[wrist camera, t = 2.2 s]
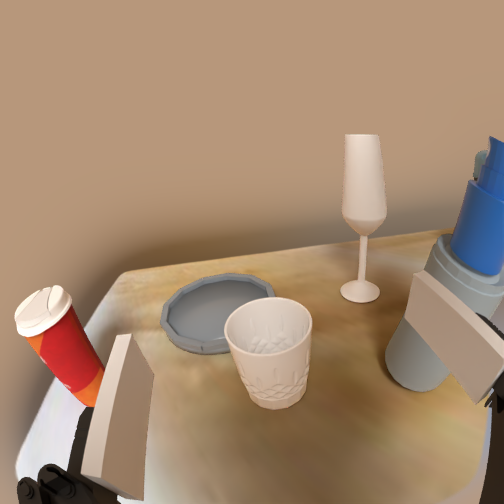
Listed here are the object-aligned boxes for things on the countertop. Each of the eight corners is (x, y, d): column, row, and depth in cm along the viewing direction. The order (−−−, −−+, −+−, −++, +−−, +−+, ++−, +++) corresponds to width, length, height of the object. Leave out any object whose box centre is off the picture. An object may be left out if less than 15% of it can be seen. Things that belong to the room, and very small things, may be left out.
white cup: (228, 388, 28) (207, 327, 24) (275, 351, 33) (267, 288, 29) (278, 427, 23) (268, 371, 19) (325, 380, 27) (329, 315, 23)
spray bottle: (372, 366, 25) (459, 120, 12) (401, 323, 31) (464, 128, 17) (433, 404, 20) (563, 172, 7) (452, 353, 25) (538, 163, 12)
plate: (289, 286, 46) (288, 277, 45) (250, 367, 31) (248, 358, 30) (200, 278, 53) (197, 270, 52) (143, 338, 38) (139, 329, 37)
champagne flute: (388, 293, 39) (395, 135, 29) (356, 307, 37) (359, 134, 27) (362, 276, 45) (363, 134, 35) (332, 287, 43) (327, 134, 33)
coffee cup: (77, 373, 31) (26, 291, 25) (122, 365, 33) (74, 276, 26) (69, 416, 24) (1, 330, 17) (120, 411, 25) (52, 318, 19)
